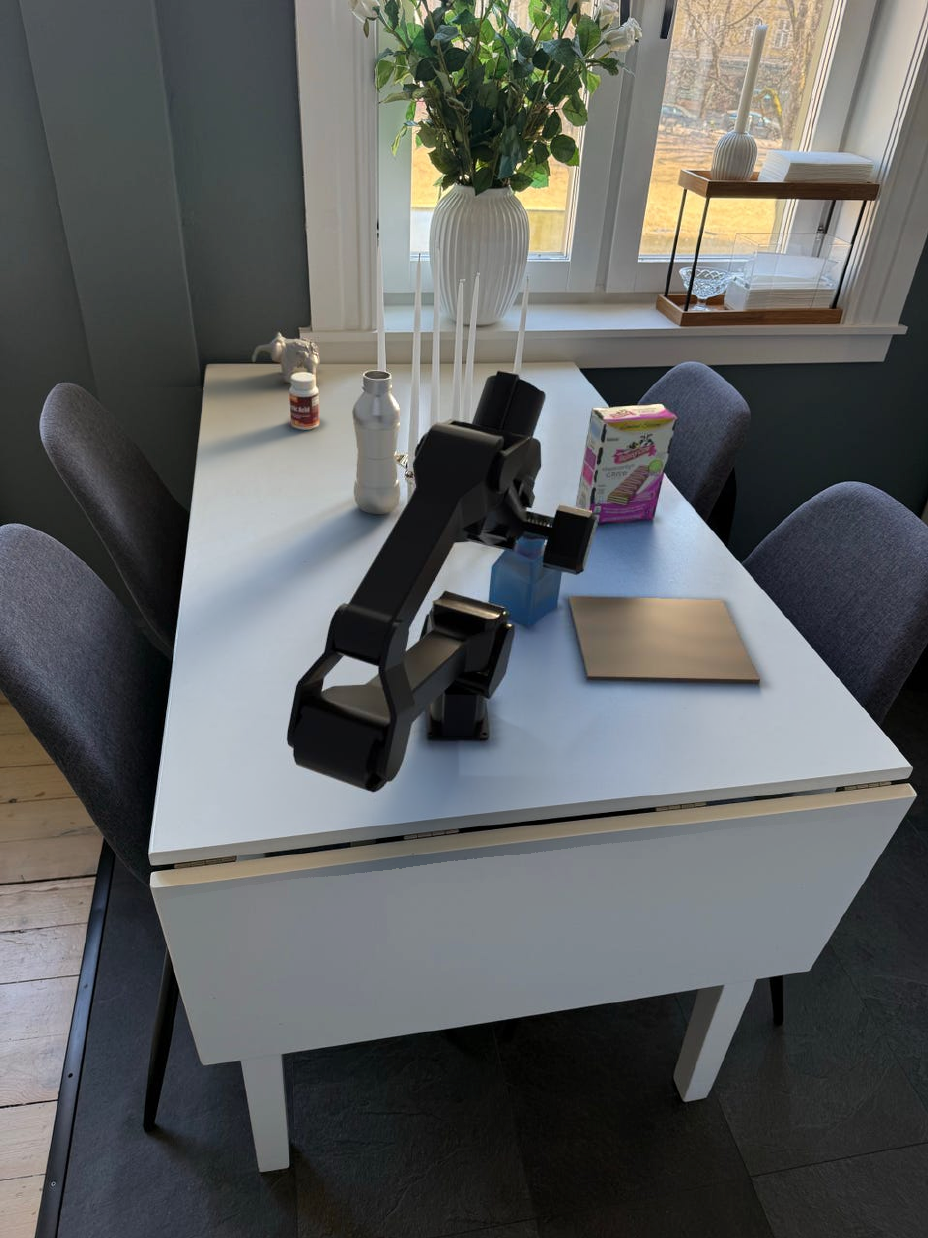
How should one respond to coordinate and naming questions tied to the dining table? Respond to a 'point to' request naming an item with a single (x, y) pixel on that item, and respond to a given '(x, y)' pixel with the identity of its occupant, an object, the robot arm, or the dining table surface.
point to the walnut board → (659, 640)
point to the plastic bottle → (376, 444)
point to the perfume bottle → (524, 582)
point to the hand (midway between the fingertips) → (513, 545)
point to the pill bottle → (304, 401)
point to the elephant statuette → (291, 354)
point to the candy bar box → (625, 462)
